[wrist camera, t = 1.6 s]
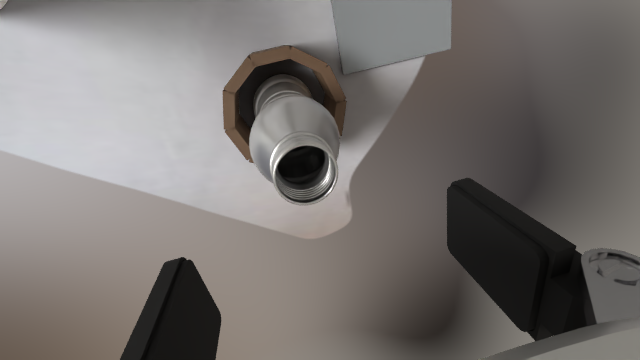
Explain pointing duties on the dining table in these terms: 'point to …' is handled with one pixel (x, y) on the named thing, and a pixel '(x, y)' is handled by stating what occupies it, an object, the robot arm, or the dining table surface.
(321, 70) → the ring holder
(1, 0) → the cylindrical container
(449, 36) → the rubber mat
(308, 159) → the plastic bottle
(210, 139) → the dining table surface
